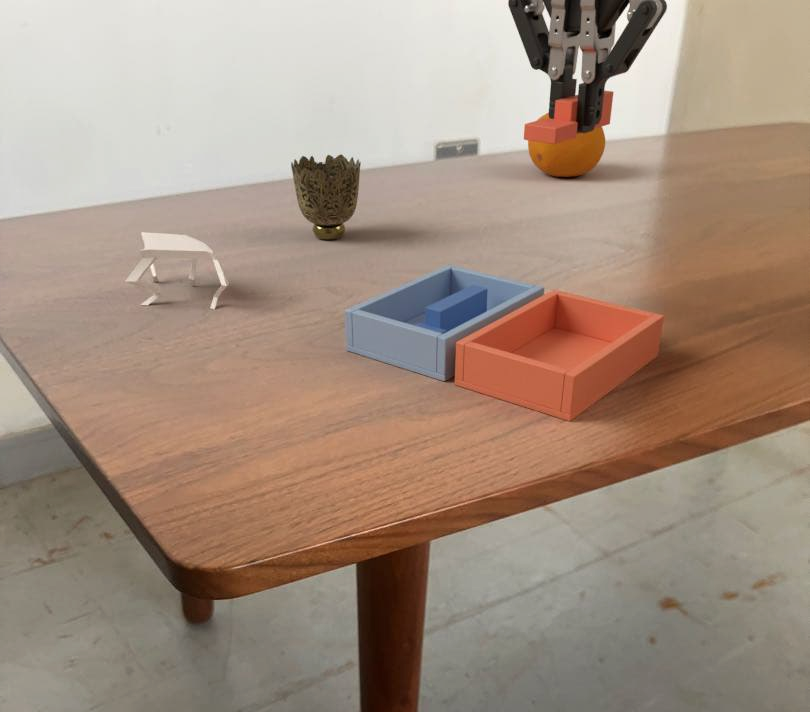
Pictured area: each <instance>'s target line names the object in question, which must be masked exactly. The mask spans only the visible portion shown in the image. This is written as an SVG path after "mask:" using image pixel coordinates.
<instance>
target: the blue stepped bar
mask: <svg viewBox="0 0 810 712" xmlns="http://www.w3.org/2000/svg"><path fill="white" fill-rule="evenodd" d="M487 293H488V289H487V288H483V287H479V286H475V285H471V286H469V287H467V288H465V289H463V290H461V291H459V292H457V293H455V294H453V295H451V296H448V297H446V298H444V299H442V300H440V301H438V302H436V303H434V304H432V305H430V306H428V307H426V308H425V324H423V323H419V322H418V323H416V324H414V326H418V327H421V328H425V329H428V330H432V331H435V332H439V333H442V334H444V333H446V332H448V331H450V330H452V329H454V328H456V327H458V326H460V325H462V324H464V323H466V322H467V321H469V320H471V319H473V318H475V317H477V316H479V315H481V314H483V313H485V312H487Z"/></svg>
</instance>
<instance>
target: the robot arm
mask: <svg viewBox="0 0 810 712" xmlns="http://www.w3.org/2000/svg"><path fill="white" fill-rule="evenodd" d="M507 3H508V8H509V12H510V14H511V16H512V19H513V22H514V25H515V27H516V29H517V32H518V35H519V38H520V40H521V44H522V45H523V49H524V51H525V54H526V56H527V59H528V61H529V64H530V66H531V68H532V69H533V70H535V71H537V70H540V71H541V72H543V73H545V74H546V75H547V76H548V78H549V80H550V88H549V89H550V91H549V102H548V106H549V107H548V113H549V114H548V115H549V118H550V119H554V114H555V102H556V100H559V99H563V98H567V97H571V96H575V95H576V93H577V95H578V106H577V117H576V122H578V125H577V133H587V132H591V131H593V130H594V128H595V125H597V124H599V122H600V120H601V117H602V108H603V98H604V91H605V89H606V88H605V87H606V84H607V81H609V79H611V78H614V77H615V76H620V75H622V74H625V73H627V72H628V71H629V70H630V69H631V67H632V65H634V64H633V63H635V61H636V59H637V58H638V56H639V54H640V53H641V51H642V50H643V48H644V47H645V45H646V44H647V42H648V40H649V39H650V37H651V36H652V34H653V32H655V29H656V28H657V26H658V25H659V23H660V22H661V20H662V18H663V17H664V15H665V14H666V12H667V9H668V4H667V2H666V0H508V2H507ZM628 6H629V8H628ZM626 8H628V11H627V13H626V19H627V21H628V23H627V24H626V25H625V27H624V30H622V32H621V34H620V35H619V37H618V39H617V40H616V42H615V38H616V23H617V21H618V20H619V19H620V17H621V16H622V14H623V13H624V12H625V11H626ZM545 9H546V12H547V14H548V16H549V18H550V22H549V28H548V25H547V23H546V20H545V16H544V14H543V13H544V10H545ZM579 49H580V51H581V52H582V53H581V54H582V55H581V73H580V77H581V81H582V82H581V83H578V79H577V78H573V77H574V75H575V73H576V70H577V64H578V63H577V62H578V56H579V55H578V54H579ZM577 83H578V92H577Z"/></svg>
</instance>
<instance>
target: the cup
mask: <svg viewBox="0 0 810 712" xmlns="http://www.w3.org/2000/svg"><path fill="white" fill-rule="evenodd" d="M290 167H291V172H292V179H293V182H294V183H293V184H294V190H295V196H296V199H297V204H298V207H299V210H300V212H301V214H302V216H303V217H304V219H306V221H308V222H309V223H311V224H313V225H312V232H313V236H315V237H316V238H318V239H320V240H326V241H331V240H338V239H340V238H342V237H343V236H344V235H345V233H346V229H347V228H346V226H345V223H347V222H348V221H349V220H350V219H351V218H352V217H353V215H354V214H355V212H356V209H357V206H358V205H357V204H358V198H359V189H360V177H361V176H360V173H361V161H360V159H359V158H357V160H356V162H355V160H354V157H353V156H352V157H351V158H350V159H349V161H348V158H346V157H345V156H344V155H343V154H338V155H337V156H335V157H334V156H332V155H331V154H327V155H326V156H325V160H324V162H323V161H319V162H316V160H315V158H314V156H313V155H311V156H310V157H309V158H307V157H306V156H304V155H302V156H301V157H300V159H299V161H298V160H296V158H294V160H293V162H292V161H291V164H290Z"/></svg>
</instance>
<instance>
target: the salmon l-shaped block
mask: <svg viewBox="0 0 810 712" xmlns="http://www.w3.org/2000/svg"><path fill="white" fill-rule="evenodd" d="M613 100H614V91H611V90H604V98H603V108H602V117H601V120H600V122H599V124H597V125H595V128H599V127H602V128H603V127H605V126H607V125H610V124H611V117H612V108H613ZM577 106H578V94H575V96H571V97H567V98H563V99H559V100H556V102H555V114H554V119H550V118H545V119H542V120H538V119H537V120H538V121H537V120H535V121H531V122H527V123H524V127H523V128H524V129H523V140H524V141H528V140H529V141H536V142H543V143H550V144H557V143H560V142H564V141H567V140H570V139H573V138H576V135H577V134H579V133H577V125H578V122H576V117H577ZM595 128H594V129H595Z"/></svg>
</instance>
